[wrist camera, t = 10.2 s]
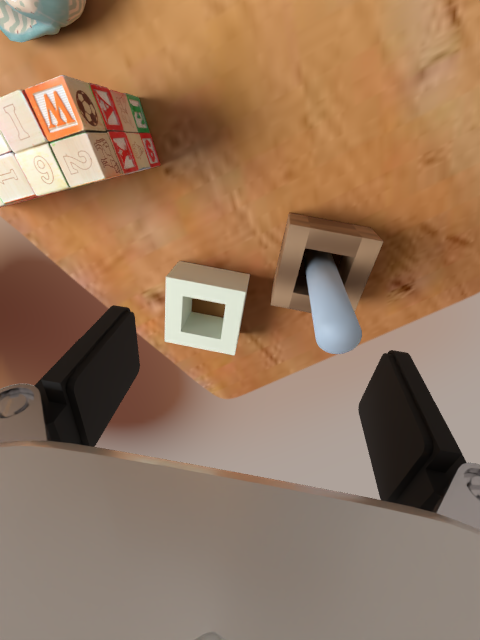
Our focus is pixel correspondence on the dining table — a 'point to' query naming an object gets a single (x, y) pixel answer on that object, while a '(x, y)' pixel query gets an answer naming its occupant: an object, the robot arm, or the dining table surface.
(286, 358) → the dining table surface
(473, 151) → the dining table surface
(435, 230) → the dining table surface
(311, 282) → the light blue rod
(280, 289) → the brown wooden square ring
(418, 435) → the robot arm
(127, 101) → the stack of blocks
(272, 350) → the dining table surface
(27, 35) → the teal cartoon creature figurine
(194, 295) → the white square hollow block
